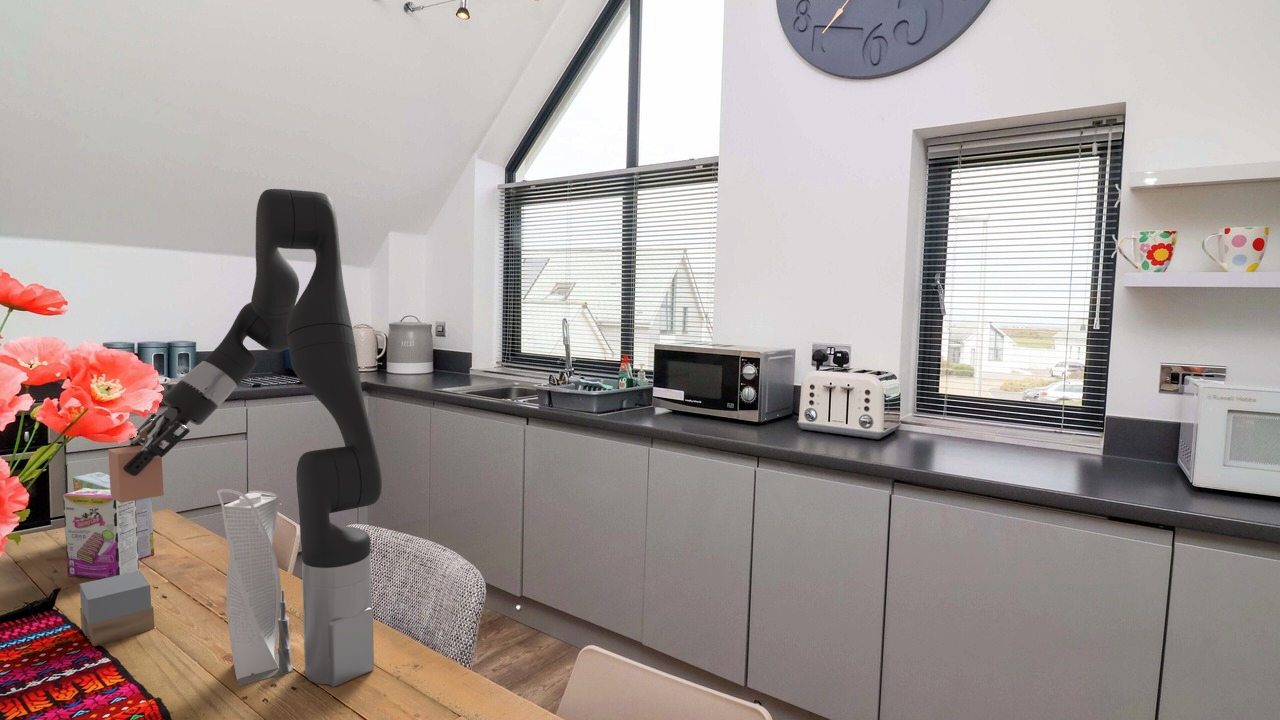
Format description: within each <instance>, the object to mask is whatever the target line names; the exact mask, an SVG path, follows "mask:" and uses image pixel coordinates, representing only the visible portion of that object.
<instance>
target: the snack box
mask: <svg viewBox="0 0 1280 720" xmlns="http://www.w3.org/2000/svg"><path fill="white" fill-rule="evenodd" d="M72 485H73V491H76V490H80V489H83V488H92V489H106V490H110V474H107V473H104V472H100V471H97V472H92V473H85V474H82V475H77V476H73V477H72ZM152 506H153V505H152V497H151V498H146V499H140V500H136V521H137V542H138V561H139V560H142V559H144V558H145V559H146V558H148V557H151V556H154V555H155V542H154V541H155V540H154V526H153V524H154V523H153V522H154V521H153V510H152V509H153V508H152Z"/></svg>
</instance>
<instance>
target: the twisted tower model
mask: <svg viewBox="0 0 1280 720" xmlns="http://www.w3.org/2000/svg"><path fill="white" fill-rule="evenodd" d="M222 493H230V494H234V495H238V496H239V497H238V498H239V499H236V500H234V501H231V502H229V503H226V504H224V503H225V502H224V500H223V498H222ZM216 495H217V497H218V500H219V503H220V506H221V512H222V517H223V524H224V531H225V536H226V541H227V546H228V551H229V555H228V556H229V557H228V561H227V569H226V584H225V585H226V590H225V591H226V593H225V594H226V616H227V624H228V632H229V633H228V634H229V640H230V647H231V648H230V649H231V655H232V659H233V662H232V664H233V669H234V673H235V678H236V681H237V685H238V687H242V686H246V685H250V684H253V683H257V682H261V681H264V680H269V679H271V678H275V677H279V676H281V675H282V676H283V675H286V674H290V673H293V672H294V668H293V664H292V658H291V649H292V645H291V637H290V630H289V626H290V618H291V617H289V616H288V615H287V600H285V589H282V585H281V584H282V583H281V575H280V569H279V565H278V560H277V556H276V554H275V551H274V547H273V542H274V536H275V532H276V531H275V530H276V525H277V517H278V511H279V502H280V496H279V495H278V494H277V493H275V492H271V491H265V490H249V491H247V493H245V494H244V493H242V492H241V491H238V490H235V489H230V488H220V489H218V490H217V491H216ZM262 495H268V496H262ZM277 641H278V642H277ZM277 643H278V648H277V652H276V647H277Z"/></svg>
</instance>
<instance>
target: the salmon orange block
mask: <svg viewBox="0 0 1280 720" xmlns="http://www.w3.org/2000/svg"><path fill="white" fill-rule="evenodd" d="M144 446H145V445H140V446H132V447H128V446H125V447H118V448H117V447H116V448H109V449H108V450H107V452H108V454H107V455H108V468H109V470H108V471H109V475H110V491H111V497H113V498H114V499H116V500H117V501H118V502H120V503H123V502H128V501H134V500H140V499H146V498H151V499H152V498H157V497H162V496H164V494H165V493H164V479H163V478H164V477H163V476H164V474H163V457H160V456H159V457H157V458H156V459H154V458H153V460H152V461H151V462H150V463H149V464H148V465H147V466H146V467H145V468H144V469H143V470H142V471H141V472H140V473H139V474H138V475H136V476H133V475H131V474H129V473H128V472H126V471H125V470H124V466H125V465H126V464H127V463H128V462H129V461H130V460H131V459H132V458H133V457H134V456H135V455H136V454H137V453H138V452H139V451H142V448H143V447H144ZM142 452H143V451H142Z"/></svg>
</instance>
